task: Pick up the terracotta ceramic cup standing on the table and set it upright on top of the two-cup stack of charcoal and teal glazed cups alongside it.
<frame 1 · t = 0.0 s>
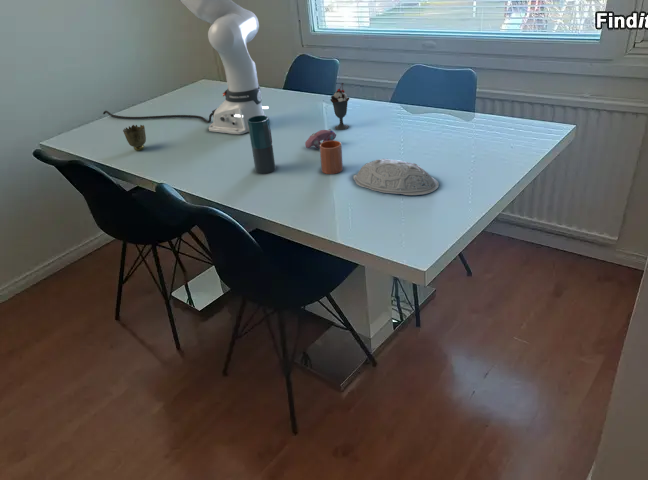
cup: (332, 169, 164), on the table
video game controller: (321, 147, 181), on the table
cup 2: (139, 150, 196), on the table
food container: (394, 182, 153), on the table
cup stack: (265, 169, 170), on the table
sundae: (341, 128, 194), on the table
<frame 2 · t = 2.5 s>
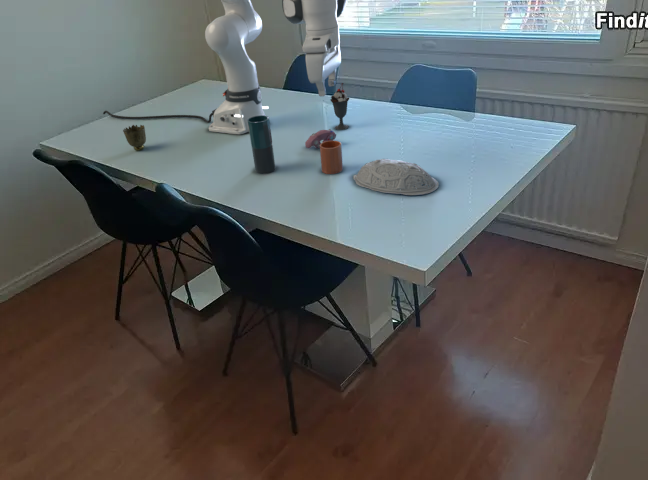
hand: (327, 90, 155), 23 cm above the table, tool pointing down, fingers open, 8 cm apart
nothing on the table moved.
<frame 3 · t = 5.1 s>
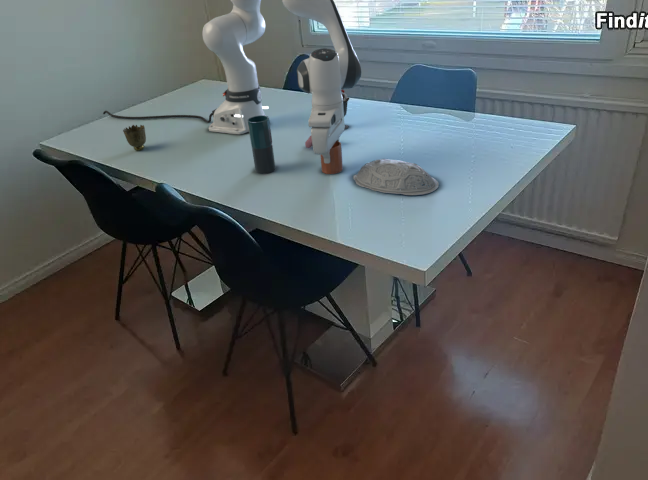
hand: (331, 157, 162), 4 cm above the table, tool pointing down, fingers closed on cup, 6 cm apart
cup: (332, 169, 164), on the table, touching gripper
everything else where it was.
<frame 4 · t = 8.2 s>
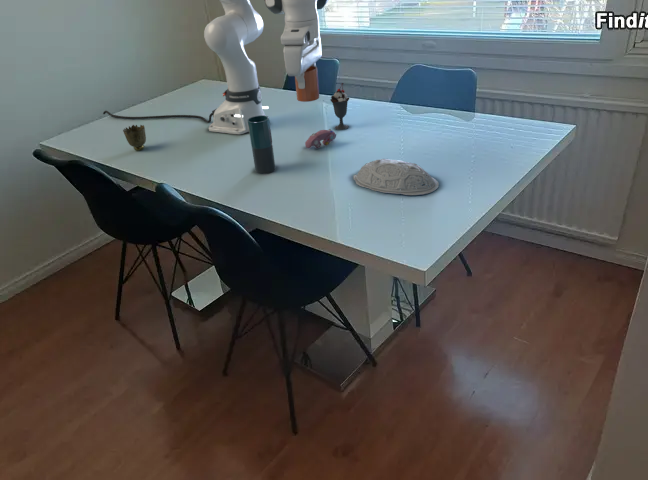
hand: (306, 84, 152), 26 cm above the table, tool pointing down, fingers closed on cup, 6 cm apart
cup: (308, 98, 154), point 22 cm above the table, touching gripper
everything else where it was.
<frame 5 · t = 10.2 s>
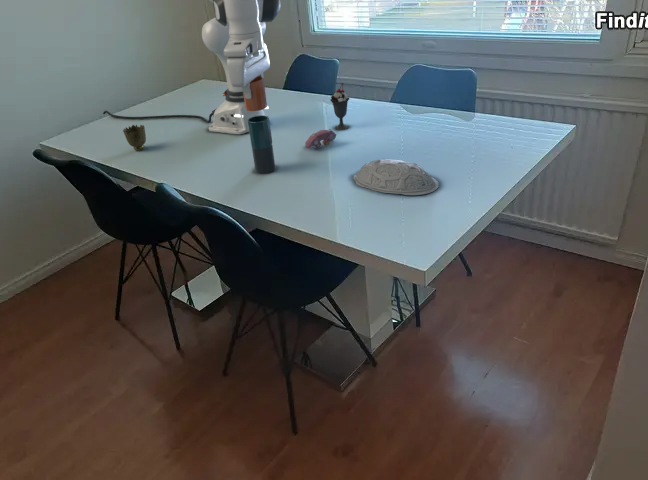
hand: (254, 94, 157), 23 cm above the table, tool pointing down, fingers closed on cup, 6 cm apart
cup: (256, 107, 159), point 19 cm above the table, touching gripper
everything else where it was.
when the fingers open (20 cm above the table, at t = 11.8 s): cup stays where it is, resting on cup stack.
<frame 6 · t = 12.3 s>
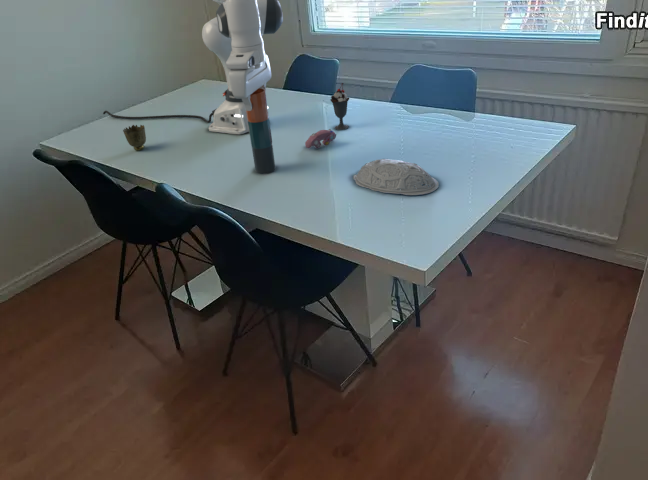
hand: (256, 104, 159), 20 cm above the table, tool pointing down, fingers open, 8 cm apart
cup: (258, 118, 161), point 16 cm above the table, touching cup stack
everything else where it was.
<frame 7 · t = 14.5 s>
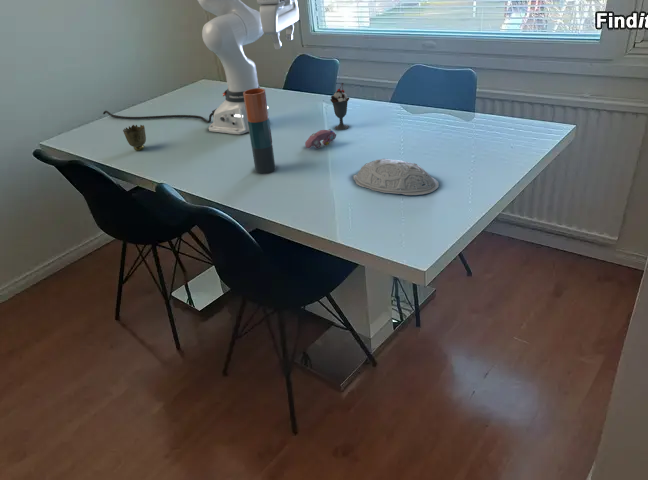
hand: (284, 44, 160), 34 cm above the table, tool pointing down, fingers open, 8 cm apart
nothing on the table moved.
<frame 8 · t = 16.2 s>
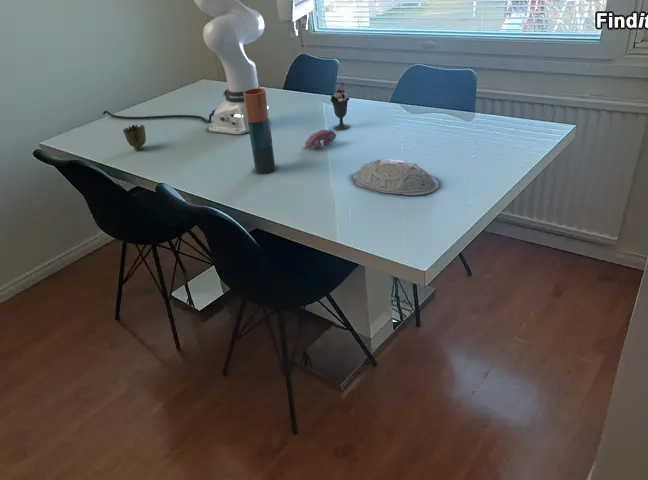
hand: (299, 33, 163), 35 cm above the table, tool pointing down, fingers open, 8 cm apart
nothing on the table moved.
at the end: cup 0.0 cm off-centre on the cup stack, point 16.0 cm above the cup stack's base; cup tilted 0°; the gripper is holding nothing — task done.
